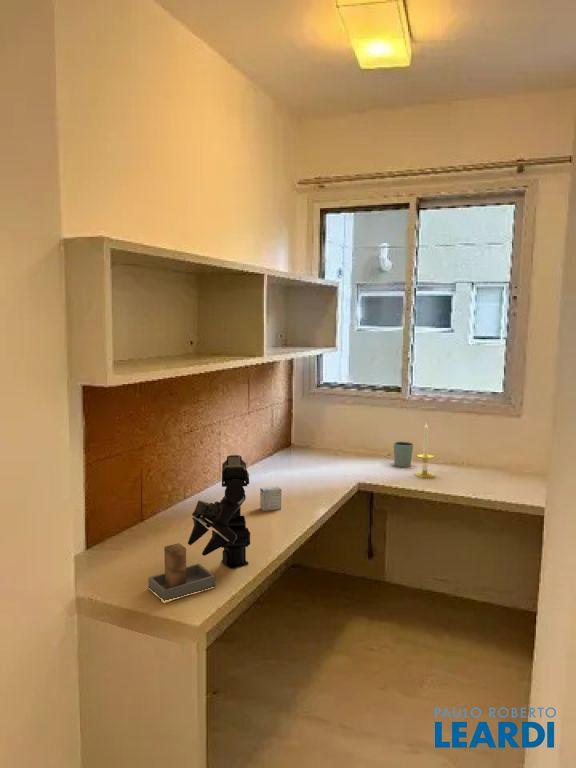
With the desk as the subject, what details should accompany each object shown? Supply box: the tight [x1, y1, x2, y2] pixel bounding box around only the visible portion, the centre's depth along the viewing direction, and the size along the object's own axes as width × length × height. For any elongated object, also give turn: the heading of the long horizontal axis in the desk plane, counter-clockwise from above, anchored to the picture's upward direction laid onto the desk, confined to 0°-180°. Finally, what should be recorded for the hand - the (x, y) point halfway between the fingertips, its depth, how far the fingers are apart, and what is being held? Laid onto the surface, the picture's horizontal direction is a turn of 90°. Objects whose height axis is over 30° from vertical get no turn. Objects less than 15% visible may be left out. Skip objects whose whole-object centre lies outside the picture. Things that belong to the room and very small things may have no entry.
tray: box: [147, 563, 216, 601], centre depth 163 cm, size 16×10×4 cm, turn 127°
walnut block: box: [163, 542, 187, 589], centre depth 161 cm, size 4×4×12 cm
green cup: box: [393, 440, 414, 468], centre depth 301 cm, size 10×10×12 cm
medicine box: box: [259, 485, 282, 512], centre depth 231 cm, size 8×4×9 cm, turn 111°
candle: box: [414, 422, 436, 479], centre depth 282 cm, size 10×10×27 cm
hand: (195, 549), depth 165 cm, fingers open, 9 cm apart
